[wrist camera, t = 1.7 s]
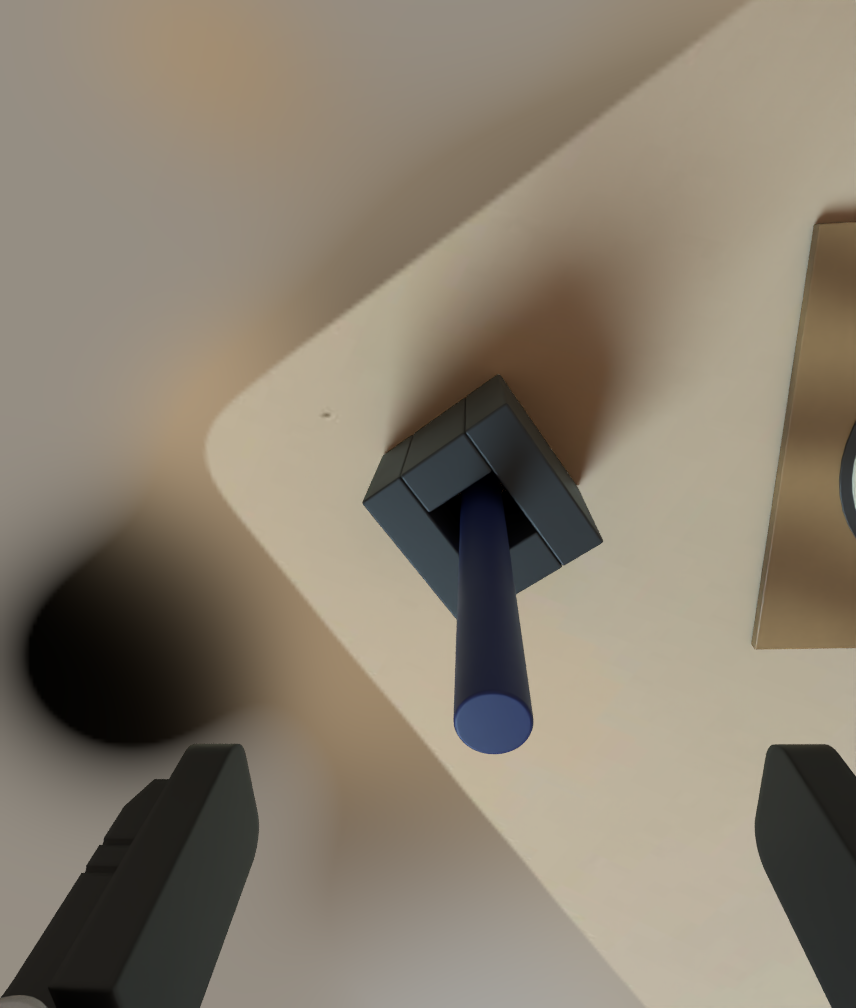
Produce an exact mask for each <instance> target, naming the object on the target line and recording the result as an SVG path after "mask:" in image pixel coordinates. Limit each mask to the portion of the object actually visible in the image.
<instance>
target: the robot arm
mask: <svg viewBox="0 0 856 1008" xmlns="http://www.w3.org/2000/svg"><path fill="white" fill-rule="evenodd" d="M258 833H259V819H258V812H257V807H256V803H255V798H254V793H253V788H252V783H251V778H250V773H249V769H248V764H247V759H246V754H245V751H244V748H243V747H242V745H240V744H193V745H191V746H189V748H188V749H187V750H186V751H185V753H184V755H183V756H182V758H181V760H180V761H179V763H178V765H177V767H176V768H175V770H174V772H173V773H172V775H171V777H170V779H167V780H166V779H154V780H153V781H152V782H151V783H150V784H149V785H147V786H146V787H145V788H144V789H143V790H142V791H141V792H140V793H139V794H137V795H136V796H135V797H134V798H133V799H132V800H131V801H130V802H129V803H127V804H126V805H125V806H124V808H123V809H122V811H121V812H120V814H119V815H118V817H117V818H116V820H115V822H114V823H113V825H112V826H111V828H110V830H109V831H108V833H107V834H106V836H105V837H104V842H103V845H99V847H98V848H97V850H96V851H95V853H94V855H93V856H92V858H91V859H90V861H89V862H88V864H87V865H86V872H85V873H81V875H80V876H79V878H78V880H77V881H76V883H75V885H74V886H73V887H72V889H71V891H70V892H69V894H68V895H67V897H66V898H65V900H64V902H63V903H62V905H61V906H60V908H59V909H58V911H57V912H56V914H55V916H54V917H53V919H52V920H51V922H50V924H49V925H48V927H47V928H46V930H45V931H44V933H43V935H42V936H41V938H40V940H39V941H38V942H37V944H36V945H35V947H34V949H33V950H32V952H31V953H30V955H29V956H28V958H27V959H26V961H25V963H24V964H23V966H22V967H21V969H20V971H19V972H18V974H17V975H16V977H15V979H14V980H13V981H12V983H11V984H10V986H9V987H8V989H7V990H6V991H5V993H4V994H3V995H2V997H1V998H0V1008H200V1006H201V1003H202V1000H203V998H204V995H205V992H206V989H207V987H208V984H209V981H210V978H211V976H212V973H213V970H214V967H215V965H216V962H217V959H218V956H219V954H220V951H221V948H222V945H223V943H224V940H225V937H226V934H227V932H228V929H229V926H230V923H231V921H232V918H233V915H234V912H235V910H236V907H237V904H238V901H239V899H240V896H241V893H242V890H243V887H244V885H245V882H246V879H247V877H248V874H249V871H250V868H251V866H252V863H253V860H254V857H255V852H256V848H257V842H258ZM755 837H756V843H757V848H758V852H759V856H760V859H761V862H762V865H763V867H764V869H765V872H766V874H767V876H768V878H769V880H770V882H771V884H772V886H773V888H774V890H775V892H776V894H777V896H778V898H779V900H780V902H781V904H782V907H783V909H784V911H785V913H786V915H787V917H788V919H789V921H790V923H791V925H792V927H793V929H794V931H795V933H796V935H797V937H798V939H799V941H800V943H801V946H802V948H803V950H804V952H805V954H806V956H807V958H808V960H809V962H810V964H811V966H812V968H813V970H814V972H815V974H816V976H817V978H818V980H819V982H820V985H821V987H822V989H823V991H824V993H825V995H826V997H827V999H828V1001H829V1003H830V1005H831V1007H832V1008H856V776H855V775H854V774H853V772H852V771H851V770H850V768H849V767H848V766H847V764H846V763H845V762H844V760H843V759H842V758H841V756H840V755H839V754H838V753H837V751H836V750H835V749H833V748H832V747H831V746H829V745H826V744H779V745H771V746H770V747H769V748H768V751H767V753H766V758H765V764H764V770H763V776H762V782H761V788H760V794H759V800H758V806H757V811H756V817H755Z"/></svg>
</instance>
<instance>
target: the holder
mask: <svg viewBox="0 0 856 1008" xmlns="http://www.w3.org/2000/svg"><path fill="white" fill-rule="evenodd" d="M492 470H493V471H494V473H495V474H496V476H497V477H498V478H499V480H500V481H501V482H502V484H503V485H504V487H505V488H506V489H507V491H505V492H504V493H502V500H503V507H504V514H505V521H506V528H507V535H508V542H509V550H510V557H511V564H512V571H513V578H514V585H515V592H516V594H517V593H519V592H521V591H522V590H524V589H526V588H527V587H529V586H531V585H533V584H534V583H536V582H538V581H539V580H541V579H543V578H544V577H546V576H548V575H549V574H551V573H553V572H554V571H556V570H558V569H560V568H561V567H562V565H566V564H567V563H569V562H571V561H573V560H574V559H576V558H578V557H579V556H581V555H583V554H584V553H586V552H588V551H589V550H591V549H593V548H594V547H596V546H598V545H600V544H601V543H602V542H603V539H602V537H601V535H600V533H599V531H598V529H597V527H596V525H595V523H594V520H593V518H592V516H591V514H590V512H589V510H588V508H587V506H586V504H585V502H584V500H583V498H582V495H581V493H580V491H579V489H578V487H577V486H576V484H575V483H574V481H573V480H572V478H571V477H570V475H569V474H568V473H567V471H566V470H565V468H564V467H563V465H562V464H561V462H560V461H559V459H558V458H557V457H556V455H555V454H554V452H553V451H552V449H551V448H550V446H549V445H548V444H547V442H546V441H545V439H544V438H543V436H542V435H541V433H540V432H539V430H538V429H537V428H536V426H535V425H534V423H533V422H532V420H531V419H530V417H529V416H528V415H527V413H526V412H525V410H524V409H523V407H522V406H521V404H520V403H519V401H518V400H517V399H516V397H515V396H514V394H513V393H512V391H511V390H510V388H509V387H508V386H507V384H506V383H505V381H504V380H503V378H502V377H501V375H499V374H498V375H496V376H495V377H493V378H492V379H490V380H489V381H488V382H486V383H485V384H483V385H482V386H481V387H479V388H478V389H476V390H475V391H473V392H472V393H471V394H469V395H468V396H467V397H466V399H462V400H461V401H459V402H458V403H457V404H455V405H454V406H452V407H451V408H450V409H448V410H447V411H445V412H444V413H442V414H441V415H440V416H438V417H437V418H435V419H434V420H433V421H431V422H430V423H428V424H427V425H426V426H424V427H423V428H421V429H420V430H418V431H417V432H416V433H415V434H414V436H413V435H412V436H410V437H408V438H407V439H406V440H404V441H403V442H401V443H400V444H399V445H397V446H396V447H394V448H393V449H392V450H390V451H389V452H387V453H386V454H384V455H383V457H382V459H381V461H380V463H379V466H378V468H377V470H376V472H375V475H374V477H373V479H372V482H371V484H370V486H369V488H368V491H367V493H366V495H365V498H364V500H363V502H362V503H363V505H364V506H365V507H366V509H367V510H368V511H369V512H370V514H371V515H372V516H373V517H374V518H375V520H376V521H377V522H378V523H379V525H380V526H381V527H382V528H383V530H384V531H385V532H386V533H387V534H388V536H389V537H390V538H391V539H392V541H393V542H394V543H395V544H396V545H397V547H398V548H399V549H400V550H401V552H402V553H403V554H404V555H405V557H406V558H407V559H408V560H409V561H410V563H411V564H412V565H413V566H414V568H415V569H416V570H417V571H418V573H419V574H420V575H421V576H422V577H423V579H424V580H425V581H426V582H427V584H428V585H429V586H430V587H431V589H432V590H433V591H434V592H435V593H436V595H437V596H438V597H439V598H440V600H441V601H442V602H443V603H444V605H445V606H446V607H447V608H448V609H449V611H450V612H451V613H452V614H453V616H454V617H455V618H456V619H457V602H458V572H459V541H460V511H461V497H460V496H459V495H458V493H460V492H461V491H463V490H464V489H466V488H467V487H469V486H470V485H472V484H473V483H475V482H476V481H478V480H479V479H481V478H482V477H484V476H486V475H487V474H489V473H490V472H491V471H492ZM561 564H562V565H561Z"/></svg>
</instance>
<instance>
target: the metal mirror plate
mask: <svg viewBox="0 0 856 1008" xmlns="http://www.w3.org/2000/svg"><path fill="white" fill-rule="evenodd" d="M751 644H752V646H753V647H754V649H818V648H856V221H855V222H840V223H825V224H815V225H814V228H813V235H812V242H811V249H810V255H809V262H808V269H807V275H806V282H805V289H804V295H803V302H802V309H801V315H800V322H799V329H798V335H797V342H796V349H795V355H794V362H793V369H792V376H791V382H790V389H789V396H788V402H787V409H786V416H785V422H784V429H783V436H782V442H781V449H780V456H779V462H778V469H777V476H776V483H775V489H774V496H773V503H772V509H771V516H770V523H769V529H768V536H767V543H766V549H765V556H764V563H763V569H762V576H761V583H760V589H759V596H758V603H757V610H756V616H755V623H754V630H753V636H752V643H751Z"/></svg>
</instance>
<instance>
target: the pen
mask: <svg viewBox="0 0 856 1008" xmlns="http://www.w3.org/2000/svg"><path fill="white" fill-rule="evenodd" d="M454 727H455V730H456V732H457V734H458V736H459V738H460V739H461V740H462V741H463V742H464V743H465V744H466V745H467V746H469V747H470V748H472V749H474V750H476V751H479V752H482V753H487V754H502V753H506V752H510V751H512V750H514V749H516V748H518V747H519V746H521V745H522V744H523V743H524V742H525V741H526V740H527V739H528V737H529V735H530V733H531V731H532V728H533V713H532V706H531V699H530V692H529V685H528V677H527V670H526V663H525V656H524V649H523V642H522V635H521V628H520V621H519V613H518V606H517V599H516V592H515V585H514V578H513V571H512V564H511V557H510V550H509V542H508V535H507V528H506V521H505V514H504V507H503V500H502V493H501V486H500V480H499V478H498V477H497V476H496V474H495V473H494V471H493V470H492V471H491V472H490V473H489V474H487V475H486V476H484V477H482V478H481V479H479V480H478V481H476V482H475V483H473V484H472V485H470V486H469V487H467V488H466V489H464V490H463V491H461V511H460V541H459V572H458V602H457V633H456V663H455V694H454Z"/></svg>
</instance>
